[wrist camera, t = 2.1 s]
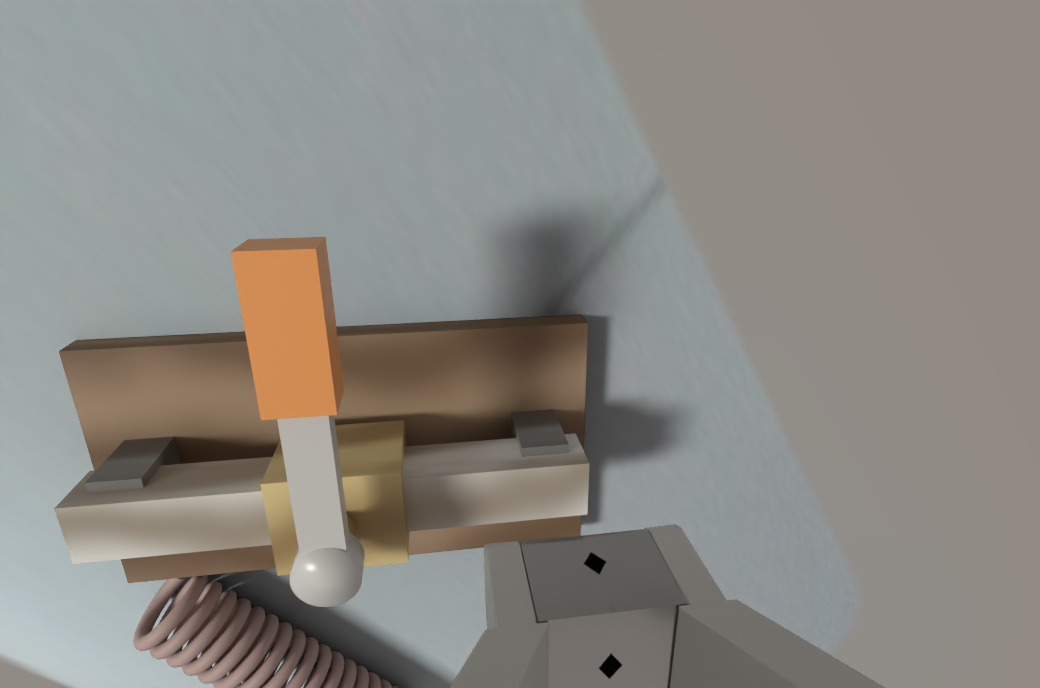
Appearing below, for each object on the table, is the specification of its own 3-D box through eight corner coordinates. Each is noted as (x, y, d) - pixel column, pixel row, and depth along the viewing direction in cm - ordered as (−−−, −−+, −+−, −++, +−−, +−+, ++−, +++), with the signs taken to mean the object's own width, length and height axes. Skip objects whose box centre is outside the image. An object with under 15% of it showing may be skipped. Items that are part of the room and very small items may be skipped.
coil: (423, 740, 38) (169, 599, 32) (372, 790, 38) (110, 661, 32) (419, 680, 42) (194, 547, 36) (373, 726, 43) (142, 601, 36)
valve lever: (245, 239, 21) (227, 251, 19) (328, 237, 21) (318, 248, 19) (302, 581, 26) (293, 616, 24) (368, 574, 27) (364, 608, 25)
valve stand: (75, 340, 30) (-63, 430, 22) (581, 314, 34) (634, 383, 25) (139, 564, 35) (47, 709, 27) (574, 522, 39) (617, 638, 30)
